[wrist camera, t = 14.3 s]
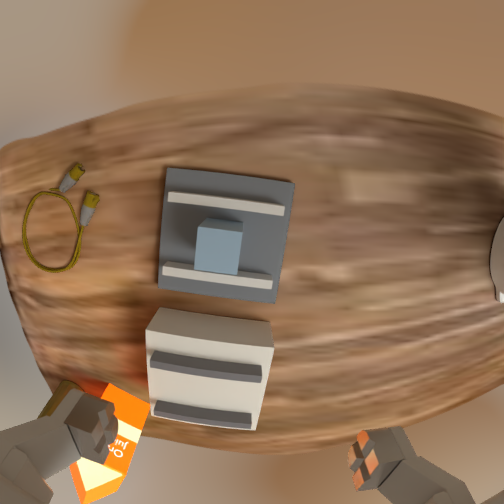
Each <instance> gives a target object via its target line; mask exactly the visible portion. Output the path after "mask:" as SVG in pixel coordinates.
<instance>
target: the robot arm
mask: <svg viewBox="0 0 504 504" xmlns="http://www.w3.org/2000/svg"><path fill="white" fill-rule="evenodd" d="M490 269H491V276H492V280H493V282H494V284H495V287H496V299H497V301H498V302H501V303H503V302H504V217H503V219H502V221H501V222H500V224H499V226H498V228H497V231H496V234H495V237H494V240H493V245H492V250H491V259H490ZM114 412H115V406H114V403H113V402H110V401H107V400H104V399H101V398H99V397H96V396H93V395H91V394H88V393H85V392H82V391H80V390H77V389H75V388H74V389H72V390H70V391H69V392H68V394H67V395H66V396H65V398H64V399H63V400H62V402H61V403H60V404H59V406H58V407H57V408H56V410H55V411H54V412H53V414H52V415H51V416H50V417H49V416H44V417H41V418H38V419H36V420H33V421H30V422H27V423H24V424H21V425H18V426H15V427H12V428H9V429H6V430H3V431H0V504H49V502H50V500H51V498H52V496H53V491H52V489H51V488H50V487H49V486H48V484H47V483H46V482H45V479H47V478H49V477H51V476H52V475H54V474H56V473H58V472H59V471H61V470H63V469H65V468H66V467H68V466H70V465H71V464H73V463H75V462H76V461H78V460H80V459H81V457H82V458H85V459H88V460H90V461H93V462H96V463H99V464H102V465H104V463H105V461H106V459H107V457H108V455H109V453H110V450H109V447H108V445H110V444H112V443H114V442H115V440H116V437H117V434H118V429H119V427H118V419H117V417H116V416H115V415H114ZM357 439H358V441H357V442H356V443H354V444H353V445H352V446H351V448H350V450H349V453H348V464H349V468H350V469H352V470H353V471H354V472H355V473H354V475H353V477H352V478H353V482H354V485H355V489H356V491H363V490H370V489H376V488H378V490H379V491H380V492H381V493H382V494H383V495H384V496H385V497H386V498H387V499H388V500H389V501H391V503H393V504H475V502H474V500H473V498H472V496H471V494H470V492H469V490H468V488H467V486H466V485H465V483H464V482H463V481H461V480H459V479H458V478H456V477H454V476H452V475H451V474H449V473H447V472H446V471H444V470H442V469H441V468H439V467H437V466H435V465H434V464H432V463H431V462H429V461H427V460H426V459H424V458H422V457H421V456H420V457H417V455H416V453H415V451H414V449H413V447H412V445H411V443H410V441H409V439H408V437H407V435H406V434H405V432H404V430H403V428H402V427H400V426H397V427H389V428H379V429H370V430H362V431H361V432H360V433H359V434H358V436H357ZM481 504H504V490H502V491H501V492H499V493H498V494H496V495H494V496H493V497H491V498H489V499H488V500H486V501H484V502H483V503H481Z"/></svg>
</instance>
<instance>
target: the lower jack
mask: <svg viewBox="0 0 504 504" xmlns="http://www.w3.org/2000/svg"><path fill="white" fill-rule="evenodd" d="M294 188H295V183H289V182H282V181H276V180H269V179H263V178H256V177H248V176H241V175H233V174H225V173H216V172H207V171H197V170H187V169H176V168H167V174H166V183H165V192H164V202H163V213H162V225H161V238H160V254H159V276H158V288H161V289H168V290H174V291H181V292H187V293H194V294H201V295H208V296H216V297H223V298H231V299H239V300H247V301H255V302H264V303H273V304H275V301H276V295H277V290H278V284H279V279H280V273H281V267H282V262H283V256H284V250H285V244H286V238H287V232H288V226H289V220H290V213H291V207H292V201H293V194H294ZM206 218H213V219H221V220H229V221H236V222H243V234H242V241H241V249H240V256H239V264H238V271H237V275H232V274H225V273H217V272H209V271H202V270H195V269H194V263H195V252H196V242H197V232H198V226H199V225H200V224H201V223H202V222H203V221H204V220H205V219H206Z"/></svg>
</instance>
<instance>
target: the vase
mask: <svg viewBox="0 0 504 504" xmlns="http://www.w3.org/2000/svg"><path fill="white" fill-rule="evenodd" d="M74 388H75V389H77V390H80V391H82V392H84V391H83V390H82V389H81V388H80V387H79V386H78V385H76V384H75V383H73V382H71V381H62V382H61V383H60V385H59V387H58V388H57V389H56V391H55V392H54V394H53V396H52V397H51V398H50V400H49V401H48V403H47V404H46V406H45V407H44V409H43V410H42V412H41V413H40V415H39V416H38V418H41V417H44V416H49V417H50V416H51V415H52V414H53V412H54V411H55V410H56V408H57V407H58V406H59V404H60V403H61V402H62V400H63V399H64V398H65V396H66V395H67V394H68V392H69V391H70V390H72V389H74ZM38 418H37V419H38Z"/></svg>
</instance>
